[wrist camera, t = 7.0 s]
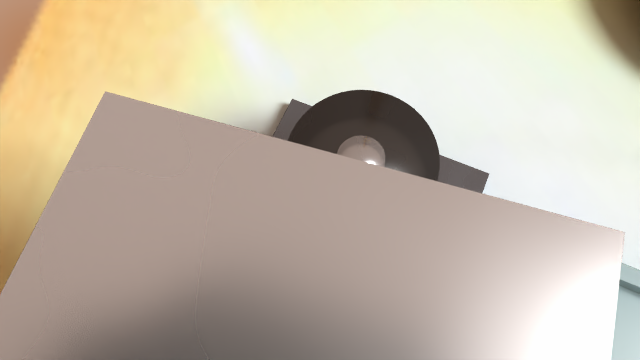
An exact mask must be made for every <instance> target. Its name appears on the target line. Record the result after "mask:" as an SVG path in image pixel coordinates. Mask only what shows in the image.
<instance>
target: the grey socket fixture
mask: <svg viewBox="0 0 640 360" xmlns="http://www.w3.org/2000/svg"><path fill="white" fill-rule="evenodd" d="M273 137H275V138H279V139H282V140H286V141H290V142H294V143H297V144H301V145H305V146H308V147H312V148H316V149H319V150H323V151H327V152H330V153H334V154H338V155H342V156H345V157H349V158H353V159H356V160H360V161H364V162H367V163H371V164H375V165H379V166H382V167H386V168H390V169H393V170H397V171H401V172H404V173H408V174H412V175H415V176H419V177H423V178H427V179H430V180H434V181H438V182H441V183H445V184H449V185H452V186H456V187H460V188H463V189H467V190H471V191H475V192H478V193H482V192H483V190H484V187H485V184H486V181H487V178H488V176H489V173H486V172H483V171H481V170H478V169H475V168H473V167H470V166H468V165H465V164H462V163H460V162H457V161H454V160H452V159H449V158H447V157H444V156H441V155H439V150H438V146H437V142H436V139H435V137H434V135H433V132H432V130H431V129H430V127H429V125H428V124H427V122H426V121H425V120H424V119H423V117H422V116H421V115H420V114H419V113H418V112H417V111H416V110H415V109H414V108H412V107H411V106H410V105H408V104H407V103H405V102H404V101H402V100H400V99H398V98H396V97H394V96H391V95H389V94H385V93H382V92H377V91H371V90H352V91H346V92H341V93H338V94H335V95H332V96H330V97H327V98H325V99H323V100H322V101H320V102H318V103H316V104H315V105H314V106H310V105H307V104H304V103H302V102H299V101H297V100H294V99H292V100H291V102H290V104H289V106H288V108H287V110H286V112H285V114H284V116H283V118H282V120H281V121H280V123H279V125H278V127H277V129H276V131H275V133H274V135H273Z"/></svg>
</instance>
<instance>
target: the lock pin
mask: <svg viewBox="0 0 640 360" xmlns="http://www.w3.org/2000/svg"><path fill="white" fill-rule="evenodd" d="M624 235H625V232H622V231H619V230H615V229H611V228H607V227H604V226H600V225H596V224H593V223H589V222H585V221H582V220H578V219H574V218H571V217H567V216H563V215H559V214H556V213H552V212H548V211H545V210H541V209H537V208H534V207H530V206H526V205H523V204H519V203H515V202H511V201H508V200H504V199H500V198H497V197H493V196H489V195H486V194H482V193H478V192H475V191H471V190H467V189H463V188H460V187H456V186H452V185H449V184H445V183H441V182H438V181H434V180H430V179H427V178H423V177H419V176H415V175H412V174H408V173H404V172H401V171H397V170H393V169H390V168H386V167H382V166H379V165H375V164H371V163H367V162H364V161H360V160H356V159H353V158H349V157H345V156H342V155H338V154H334V153H330V152H327V151H323V150H319V149H316V148H312V147H308V146H305V145H301V144H297V143H294V142H290V141H286V140H282V139H279V138H275V137H271V136H268V135H264V134H260V133H257V132H253V131H249V130H246V129H242V128H238V127H234V126H231V125H227V124H223V123H220V122H216V121H212V120H209V119H205V118H201V117H198V116H194V115H190V114H186V113H183V112H179V111H175V110H172V109H168V108H164V107H161V106H157V105H153V104H150V103H146V102H142V101H138V100H135V99H131V98H127V97H124V96H120V95H116V94H113V93H109V92H105V93H104V95H103V97H102V99H101V101H100V103H99V104H98V106H97V108H96V110H95V112H94V114H93V116H92V118H91V120H90V122H89V124H88V126H87V128H86V130H85V132H84V133H83V135H82V137H81V139H80V141H79V143H78V145H77V147H76V149H75V151H74V153H73V155H72V157H71V159H70V161H69V162H68V164H67V166H66V168H65V170H64V172H63V174H62V176H61V178H60V180H59V182H58V184H57V186H56V188H55V190H54V191H53V193H52V195H51V197H50V199H49V201H48V203H47V205H46V207H45V209H44V211H43V213H42V215H41V217H40V219H39V221H38V222H37V224H36V226H35V228H34V230H33V232H32V234H31V236H30V238H29V240H28V242H27V244H26V246H25V248H24V250H23V251H22V253H21V255H20V257H19V259H18V261H17V263H16V265H15V267H14V269H13V271H12V273H11V275H10V277H9V279H8V280H7V282H6V284H5V286H4V288H3V290H2V292H1V294H0V360H611V351H612V342H613V333H614V324H615V315H616V306H617V298H618V289H619V280H620V271H621V262H622V253H623V244H624Z"/></svg>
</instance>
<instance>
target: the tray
mask: <svg viewBox="0 0 640 360" xmlns="http://www.w3.org/2000/svg"><path fill="white" fill-rule="evenodd" d="M611 360H640V270H638V269H636V268H633V267H631V266H628V265H626V264H623V263H621V271H620V280H619V289H618V298H617V306H616V315H615V324H614V333H613V342H612V351H611Z"/></svg>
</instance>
